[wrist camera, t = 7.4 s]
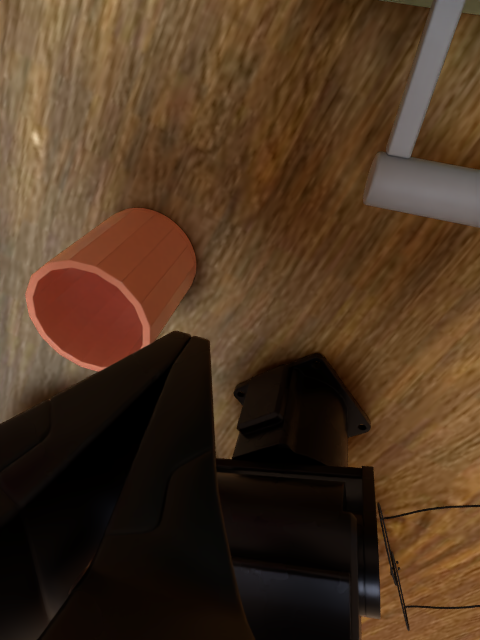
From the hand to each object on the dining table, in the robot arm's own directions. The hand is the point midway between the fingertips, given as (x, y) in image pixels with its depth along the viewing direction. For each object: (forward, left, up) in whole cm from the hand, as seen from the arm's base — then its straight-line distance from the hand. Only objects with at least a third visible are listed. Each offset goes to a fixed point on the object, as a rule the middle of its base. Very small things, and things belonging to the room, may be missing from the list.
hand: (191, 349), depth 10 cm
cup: (+1, +8, -12) cm, 15 cm away
